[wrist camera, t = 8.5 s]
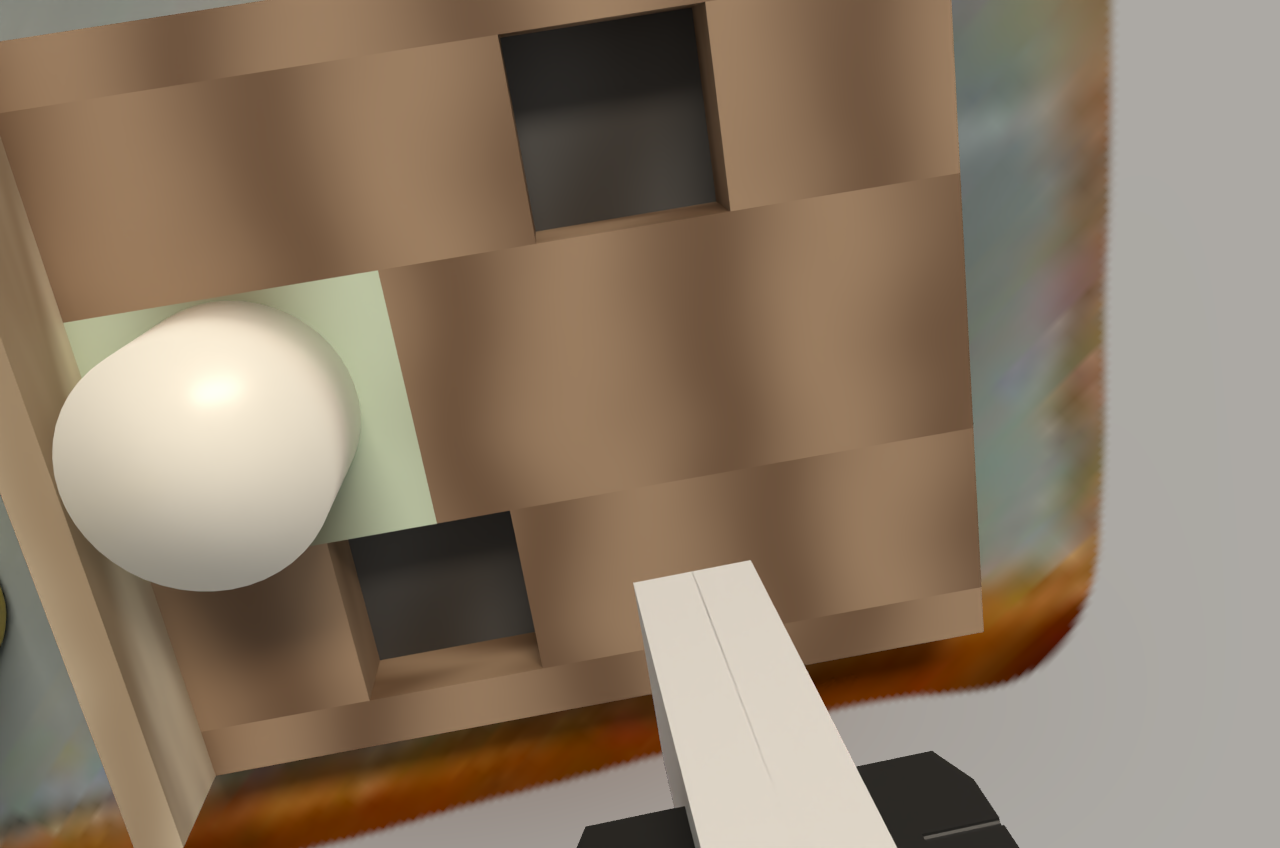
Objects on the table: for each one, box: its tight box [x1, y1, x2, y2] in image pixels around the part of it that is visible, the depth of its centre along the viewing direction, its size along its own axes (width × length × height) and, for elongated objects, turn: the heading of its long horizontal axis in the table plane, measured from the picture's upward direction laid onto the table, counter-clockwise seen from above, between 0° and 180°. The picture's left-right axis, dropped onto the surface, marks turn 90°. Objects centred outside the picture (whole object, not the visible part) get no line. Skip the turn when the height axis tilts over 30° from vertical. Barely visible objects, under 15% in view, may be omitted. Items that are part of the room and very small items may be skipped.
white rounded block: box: [52, 301, 361, 591], centre depth 25 cm, size 6×6×4 cm
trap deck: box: [0, 0, 984, 848], centre depth 27 cm, size 24×20×6 cm
